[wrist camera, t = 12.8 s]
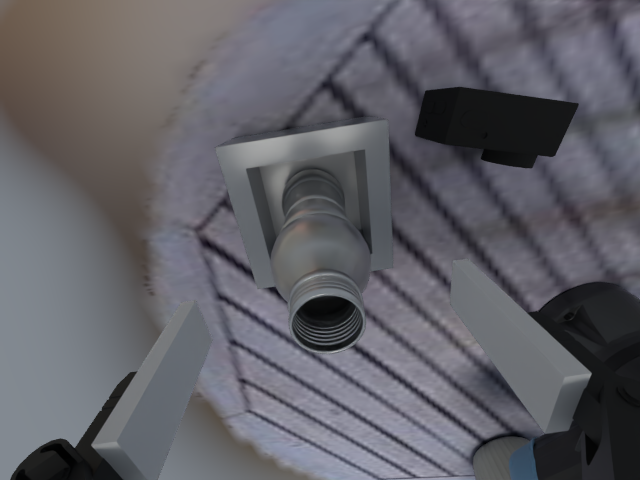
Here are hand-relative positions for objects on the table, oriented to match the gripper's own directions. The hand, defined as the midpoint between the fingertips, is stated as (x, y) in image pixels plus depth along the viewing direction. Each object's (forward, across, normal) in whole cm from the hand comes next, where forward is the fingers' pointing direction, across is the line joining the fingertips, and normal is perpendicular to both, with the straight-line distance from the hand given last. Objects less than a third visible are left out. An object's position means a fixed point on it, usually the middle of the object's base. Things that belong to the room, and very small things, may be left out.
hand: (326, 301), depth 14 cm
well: (+19, 0, 0) cm, 19 cm away
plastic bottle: (+18, 0, 0) cm, 18 cm away
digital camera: (+20, -17, -5) cm, 26 cm away
